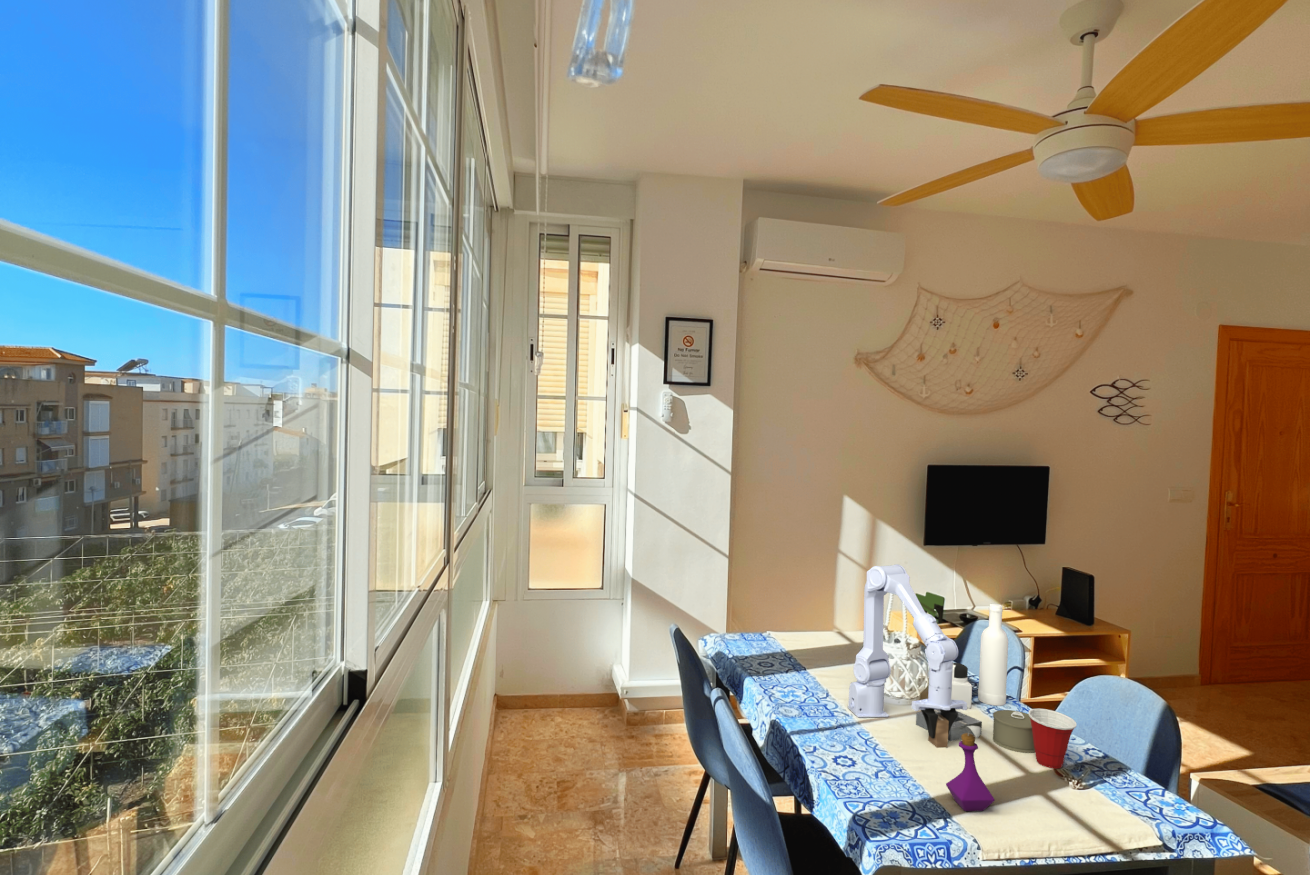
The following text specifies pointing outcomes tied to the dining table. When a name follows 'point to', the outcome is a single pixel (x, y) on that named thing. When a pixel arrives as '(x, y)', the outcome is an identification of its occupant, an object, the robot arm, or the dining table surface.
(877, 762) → the dining table surface
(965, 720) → the block with rectangular hole
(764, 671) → the dining table surface
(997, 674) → the bottle
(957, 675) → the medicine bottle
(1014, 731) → the can
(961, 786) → the perfume bottle
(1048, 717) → the plastic cup
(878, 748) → the dining table surface
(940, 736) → the peg
